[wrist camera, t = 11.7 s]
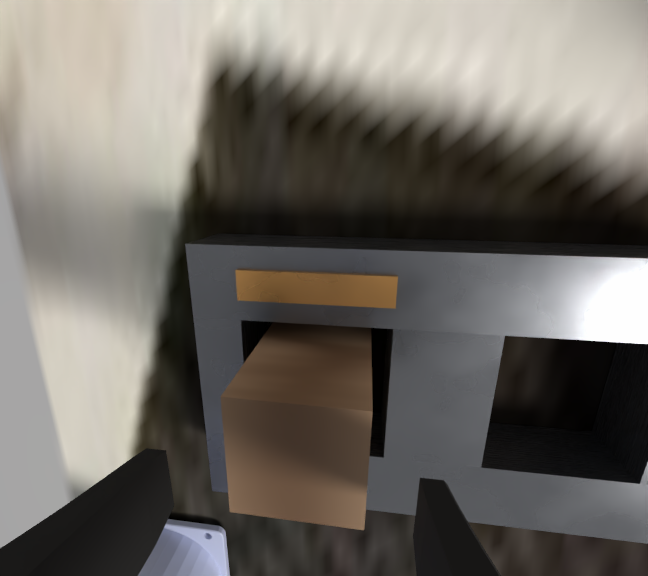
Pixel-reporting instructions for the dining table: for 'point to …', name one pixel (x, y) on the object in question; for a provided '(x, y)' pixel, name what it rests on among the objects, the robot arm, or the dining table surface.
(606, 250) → the rail block
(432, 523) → the robot arm
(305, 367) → the walnut block
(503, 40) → the dining table surface
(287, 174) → the dining table surface
